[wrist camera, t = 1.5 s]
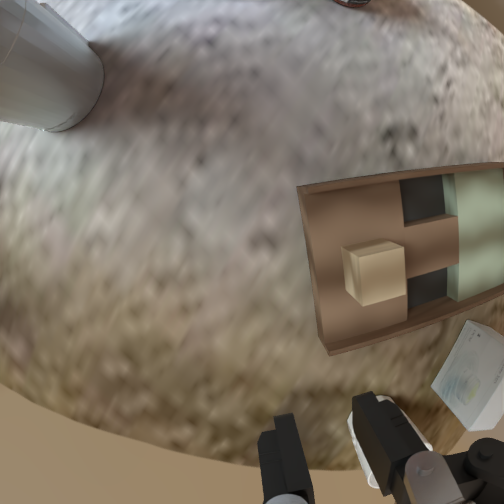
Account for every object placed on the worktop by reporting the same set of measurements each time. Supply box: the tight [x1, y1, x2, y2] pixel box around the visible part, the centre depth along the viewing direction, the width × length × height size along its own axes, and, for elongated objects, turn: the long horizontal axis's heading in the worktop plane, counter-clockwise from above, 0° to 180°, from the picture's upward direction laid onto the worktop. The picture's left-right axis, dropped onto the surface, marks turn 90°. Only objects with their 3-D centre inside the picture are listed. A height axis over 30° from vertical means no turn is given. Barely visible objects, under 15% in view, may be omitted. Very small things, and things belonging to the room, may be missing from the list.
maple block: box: [341, 238, 406, 306], centre depth 25 cm, size 4×4×4 cm
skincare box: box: [431, 320, 504, 431], centre depth 28 cm, size 10×6×10 cm, turn 161°
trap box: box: [297, 162, 504, 356], centre depth 27 cm, size 15×25×4 cm, turn 101°
